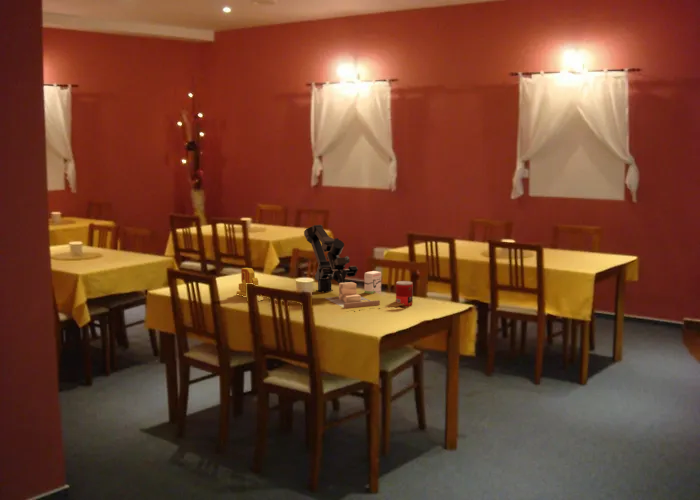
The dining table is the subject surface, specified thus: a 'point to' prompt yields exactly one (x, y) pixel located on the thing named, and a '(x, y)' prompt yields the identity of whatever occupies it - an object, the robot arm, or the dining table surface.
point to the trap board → (340, 302)
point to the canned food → (404, 292)
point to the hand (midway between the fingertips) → (343, 286)
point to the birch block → (348, 292)
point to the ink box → (372, 282)
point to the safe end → (360, 304)
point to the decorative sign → (246, 280)
